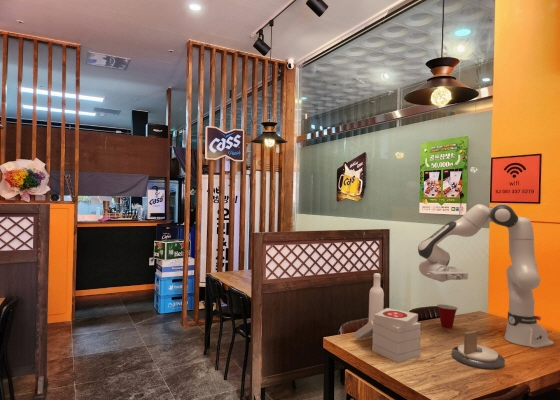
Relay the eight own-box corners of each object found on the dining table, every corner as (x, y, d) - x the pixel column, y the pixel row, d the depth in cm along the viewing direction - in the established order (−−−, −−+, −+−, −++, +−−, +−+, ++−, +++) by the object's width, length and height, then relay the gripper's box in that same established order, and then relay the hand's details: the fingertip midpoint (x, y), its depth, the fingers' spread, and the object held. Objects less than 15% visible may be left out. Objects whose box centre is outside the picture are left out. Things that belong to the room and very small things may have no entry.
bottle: (366, 325, 213) (367, 272, 214) (380, 325, 214) (381, 272, 214) (371, 330, 205) (372, 275, 206) (385, 330, 206) (386, 275, 206)
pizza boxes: (377, 336, 198) (378, 301, 198) (426, 357, 172) (427, 317, 172) (349, 342, 188) (350, 305, 188) (397, 365, 162) (398, 323, 162)
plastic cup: (458, 326, 217) (459, 305, 217) (455, 331, 208) (456, 309, 208) (438, 322, 223) (438, 302, 223) (434, 327, 214) (435, 306, 214)
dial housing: (479, 348, 184) (479, 344, 184) (516, 367, 163) (516, 362, 163) (441, 351, 179) (442, 346, 179) (474, 371, 158) (474, 366, 158)
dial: (472, 345, 182) (473, 323, 182) (506, 358, 168) (506, 334, 168) (449, 350, 174) (450, 327, 174) (482, 364, 160) (482, 339, 160)
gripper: (424, 267, 204) (440, 272, 191) (457, 267, 209) (475, 271, 196) (423, 279, 204) (440, 284, 191) (456, 278, 209) (475, 284, 195)
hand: (458, 278), depth 193 cm, fingers closed
